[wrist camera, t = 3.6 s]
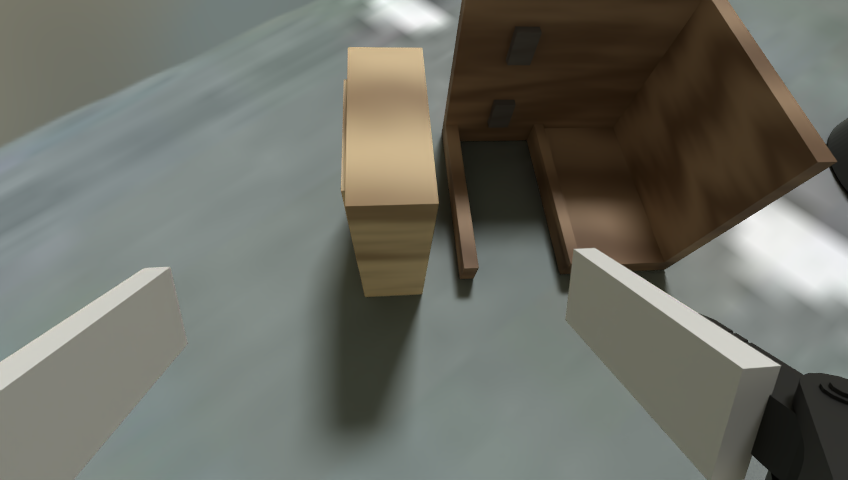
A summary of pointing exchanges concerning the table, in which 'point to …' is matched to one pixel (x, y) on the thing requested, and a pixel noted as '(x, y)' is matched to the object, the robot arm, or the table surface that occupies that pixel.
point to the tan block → (388, 168)
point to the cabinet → (626, 122)
